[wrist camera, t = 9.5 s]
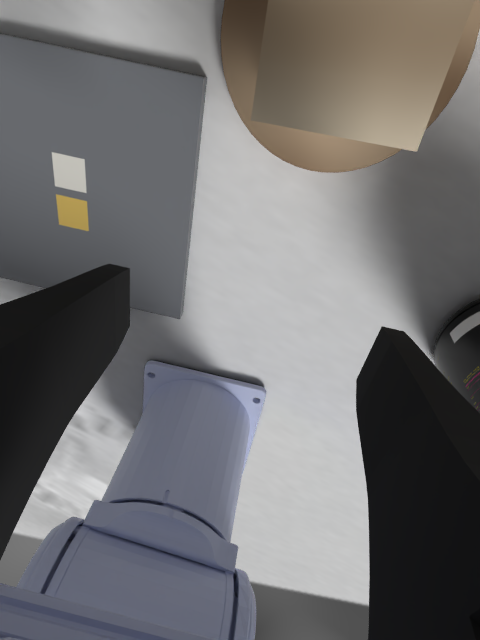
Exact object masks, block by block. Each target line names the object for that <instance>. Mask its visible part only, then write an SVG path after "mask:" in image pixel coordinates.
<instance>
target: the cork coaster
mask: <svg viewBox="0 0 480 640" xmlns="http://www.w3.org/2000/svg"><path fill="white" fill-rule="evenodd" d="M267 5H268V0H225V2H224V8H223V14H222V25H221V56H222V63H223V70H224V76H225V79H226V83H227V87H228V91H229V93H230V96H231V99H232V101H233V104H234V106H235V108H236V110H237V112H238V114H239V116H240V118H241V119H242V121H243V123H244V124H245V125H246V127H247V128H248V130H249V131H250V133H251V134H252V135H253V136H254V137H255V138H256V139H257V140H258V141H259V143H260V144H261V145H263V146H264V147H265V148H266V149H267V150H269V151H270V152H271V153H272V154H274V155H275V156H277V157H279V158H280V159H282V160H283V161H286V162H288V163H290V164H292V165H294V166H297V167H300V168H304V169H307V170H311V171H318V172H346V171H353V170H357V169H361V168H365V167H368V166H371V165H373V164H376V163H378V162H381V161H383V160H385V159H387V158H389V157H390V156H392V155H394V154H396V153H397V152H399V151H400V150H402V149H399V148H394V147H389V146H383V145H378V144H373V143H367V142H362V141H357V140H352V139H346V138H341V137H336V136H331V135H325V134H320V133H315V132H309V131H304V130H299V129H294V128H288V127H283V126H278V125H273V124H267V123H262V122H257V121H252V120H251V115H252V108H253V101H254V94H255V87H256V81H257V74H258V67H259V60H260V53H261V46H262V40H263V33H264V26H265V19H266V12H267ZM479 28H480V0H475V2H474V4H473V7H472V10H471V12H470V15H469V17H468V20H467V23H466V25H465V28H464V30H463V33H462V36H461V38H460V41H459V43H458V46H457V49H456V51H455V54H454V56H453V59H452V62H451V64H450V67H449V69H448V72H447V75H446V77H445V80H444V82H443V85H442V88H441V90H440V93H439V95H438V98H437V101H436V103H435V106H434V108H433V111H432V113H431V116H430V119H429V121H428V124H427V126H426V129H427V128H428V127H429V126H430V125H431V124H432V123H433V122H434V121H435V120H436V118H437V117H438V116H439V114H440V113H441V112H442V111H443V109H444V108H445V107H446V105H447V104H448V102H449V101H450V99H451V98H452V96H453V94H454V93H455V91H456V90H457V88H458V86H459V84H460V82H461V80H462V78H463V76H464V74H465V72H466V70H467V67H468V65H469V62H470V59H471V56H472V54H473V51H474V48H475V44H476V40H477V36H478V32H479ZM426 129H425V130H426Z"/></svg>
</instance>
